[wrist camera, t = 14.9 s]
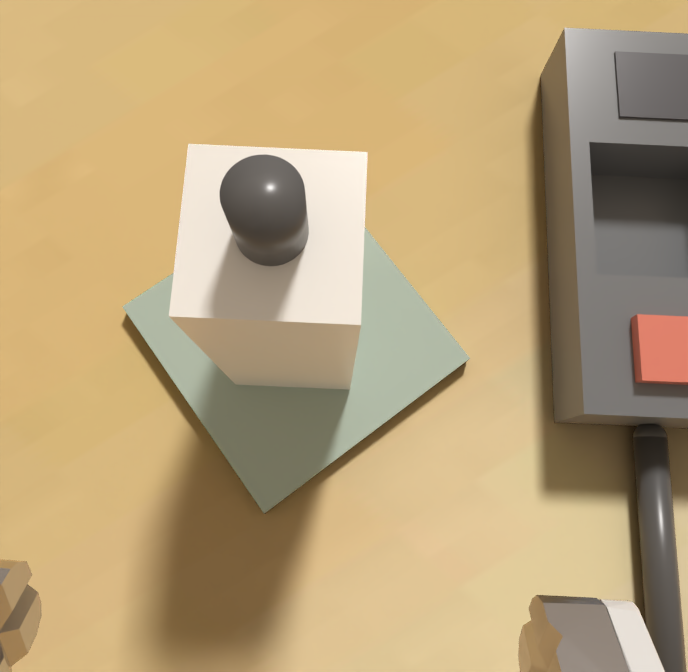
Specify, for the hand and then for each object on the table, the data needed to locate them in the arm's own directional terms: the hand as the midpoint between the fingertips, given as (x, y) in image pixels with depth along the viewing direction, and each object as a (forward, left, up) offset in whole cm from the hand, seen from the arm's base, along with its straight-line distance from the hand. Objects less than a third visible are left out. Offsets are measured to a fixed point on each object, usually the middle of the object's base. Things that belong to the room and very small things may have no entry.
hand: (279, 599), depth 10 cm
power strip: (+14, -3, -14) cm, 20 cm away
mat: (+4, +7, -14) cm, 16 cm away
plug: (+4, +7, -13) cm, 15 cm away
